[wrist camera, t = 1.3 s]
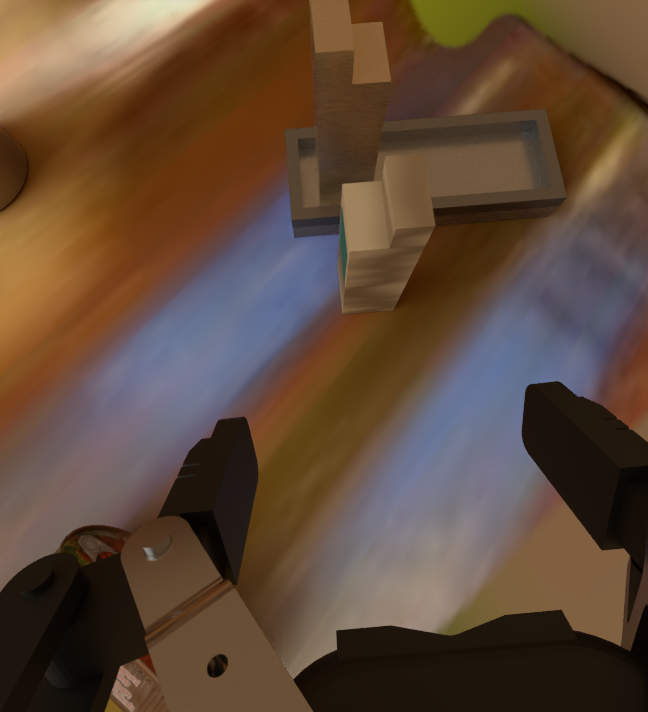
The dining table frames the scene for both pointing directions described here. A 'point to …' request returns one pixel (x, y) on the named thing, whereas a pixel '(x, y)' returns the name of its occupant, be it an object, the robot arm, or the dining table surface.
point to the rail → (408, 140)
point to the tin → (138, 678)
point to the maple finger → (383, 234)
